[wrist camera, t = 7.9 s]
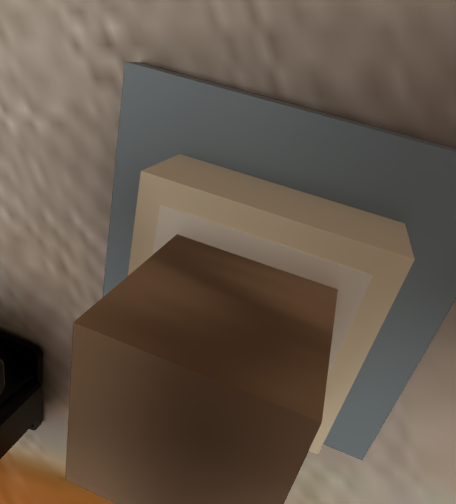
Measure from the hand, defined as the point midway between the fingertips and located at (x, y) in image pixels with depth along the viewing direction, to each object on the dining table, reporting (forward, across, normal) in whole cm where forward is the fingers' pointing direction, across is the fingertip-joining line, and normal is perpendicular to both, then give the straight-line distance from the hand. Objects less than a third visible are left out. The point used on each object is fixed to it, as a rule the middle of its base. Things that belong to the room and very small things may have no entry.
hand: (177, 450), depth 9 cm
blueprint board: (+9, 0, 0) cm, 9 cm away
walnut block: (+5, 0, 0) cm, 5 cm away
